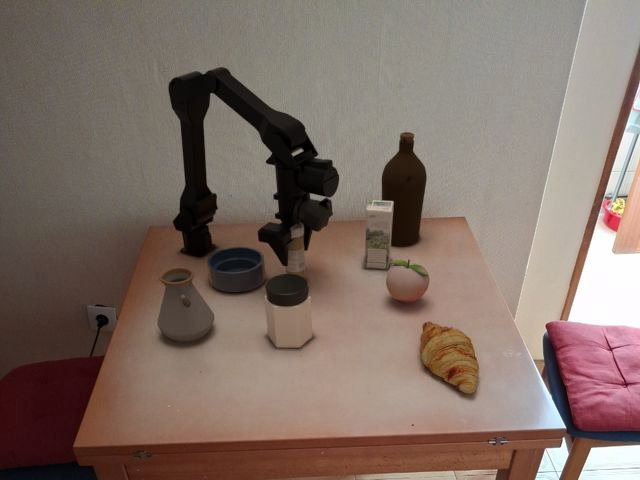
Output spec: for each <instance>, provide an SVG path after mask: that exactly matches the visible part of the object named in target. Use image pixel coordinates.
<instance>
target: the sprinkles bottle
mask: <svg viewBox="0 0 640 480" xmlns="http://www.w3.org/2000/svg"><path fill="white" fill-rule="evenodd" d="M290 230H291V234H292V236H291V239H293V241H292V242H291V243H290V244H289V246H288V266H287V267H286V266H285V272H286V273H285V274H295V275H299V276H302V277H303V278H305V279H306V255H305V254H306V253H305V251H304V239H303V236H304V225H303V224H302V223H299V224H297V225H296V226H295V227H293V228H292V229H290ZM306 280H307V279H306Z"/></svg>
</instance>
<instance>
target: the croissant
mask: <svg viewBox="0 0 640 480" xmlns="http://www.w3.org/2000/svg"><path fill="white" fill-rule="evenodd" d="M419 340H420V346H419V347H420V351H419V352H420V355H421V356H420V359H421V362H422V363H423V365H424V366H426V367H427V368H428V369H429V371H430V372H431V373H433V374H434V375H436V376H438V377H440V378H443V381H444V382H446V383H448V384H451V385H453V386H456V388H457V389H458V390H459V391H461V392H463V393H465V394H473V393H474V392H475V391H477V390H476V389H477V387H478V384H479V374H480V366H479V365H480V364H479V361H478V358H477V357H476V351H475V350H476V349H475V348H474V344H473V343H472V340H471V338H470V337H469V336H467V334H466V333H464V332H463V331H461V330H460V329H459V328H455V327H454V328H453V326H452V327H451V326H450V327H448V326H442V325H440V324H437V323H432V321H424V323H423V324H422V333H421V335H420V339H419Z"/></svg>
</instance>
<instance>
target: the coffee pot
mask: <svg viewBox="0 0 640 480" xmlns="http://www.w3.org/2000/svg"><path fill="white" fill-rule="evenodd" d="M194 277H195V273H194V271H193V269H190V268H188V267H174V268H170V269H167V270H165V271H164V272H162V273H161V275H160V276H159V277H158V281H160V282H161V283H162V284H163V285H164V286H165V288H164V292H163V297H162V299H161V304H160V309H159V313H158V317H157V328H158V329H159V331H160V332H161V333H162V334H163V335H164V336H165V337H167V338H169V339H172V340H173V341H176V342H178V343H179V342H180V343H190V342H195V341H198V340H200V339H202V338H203V337H205V335H206V334H207V333H208V332H210V330H211V329H212V327H213V325H214V322H215V313H214V312H213V311H212V309H211V308H210V306H209V304H208V303H207V302H206V300H205V299H204V297H203V296H202V294H201V293H200V291H198V288H196V286H195V285H194V283H193V279H194Z"/></svg>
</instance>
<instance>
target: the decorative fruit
mask: <svg viewBox="0 0 640 480" xmlns="http://www.w3.org/2000/svg"><path fill="white" fill-rule="evenodd" d="M410 262H411V260H410V259H408V260H407V261H406V260H404V259H395V260H390V262H389V265H391V267H390V268H388V271H387V273H386V278H385V284H386V289H387V291H388V293H389V294H390V295H391V297H393V298H394V299H395V300H398V301H403V302H404V303H410V302H411V303H412V302H415V301H417V300H419V299H420V298H422V297H423V296H424V295H425V294H426V292H427V291H428V289H429V286H430V275H429V272H428V271H427V269H426V268H425V267H424V266H422V265H421V264H418V263H410Z"/></svg>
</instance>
